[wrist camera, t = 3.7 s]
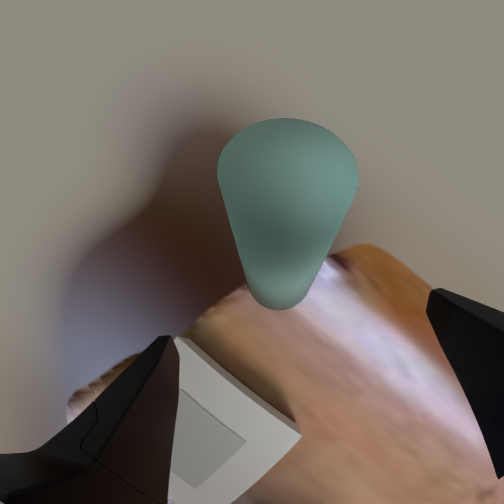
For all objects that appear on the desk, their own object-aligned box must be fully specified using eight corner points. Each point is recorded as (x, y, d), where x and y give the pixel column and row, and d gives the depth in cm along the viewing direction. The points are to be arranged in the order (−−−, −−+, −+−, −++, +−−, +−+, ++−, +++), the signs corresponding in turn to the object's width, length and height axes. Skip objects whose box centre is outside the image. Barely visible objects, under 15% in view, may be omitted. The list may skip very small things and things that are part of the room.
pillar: (284, 322, 20) (308, 260, 8) (234, 284, 21) (187, 177, 9) (322, 273, 21) (380, 159, 9) (273, 238, 22) (273, 103, 10)
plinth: (211, 506, 15) (202, 524, 12) (115, 424, 17) (94, 431, 14) (298, 424, 17) (302, 436, 14) (190, 339, 20) (176, 335, 17)
